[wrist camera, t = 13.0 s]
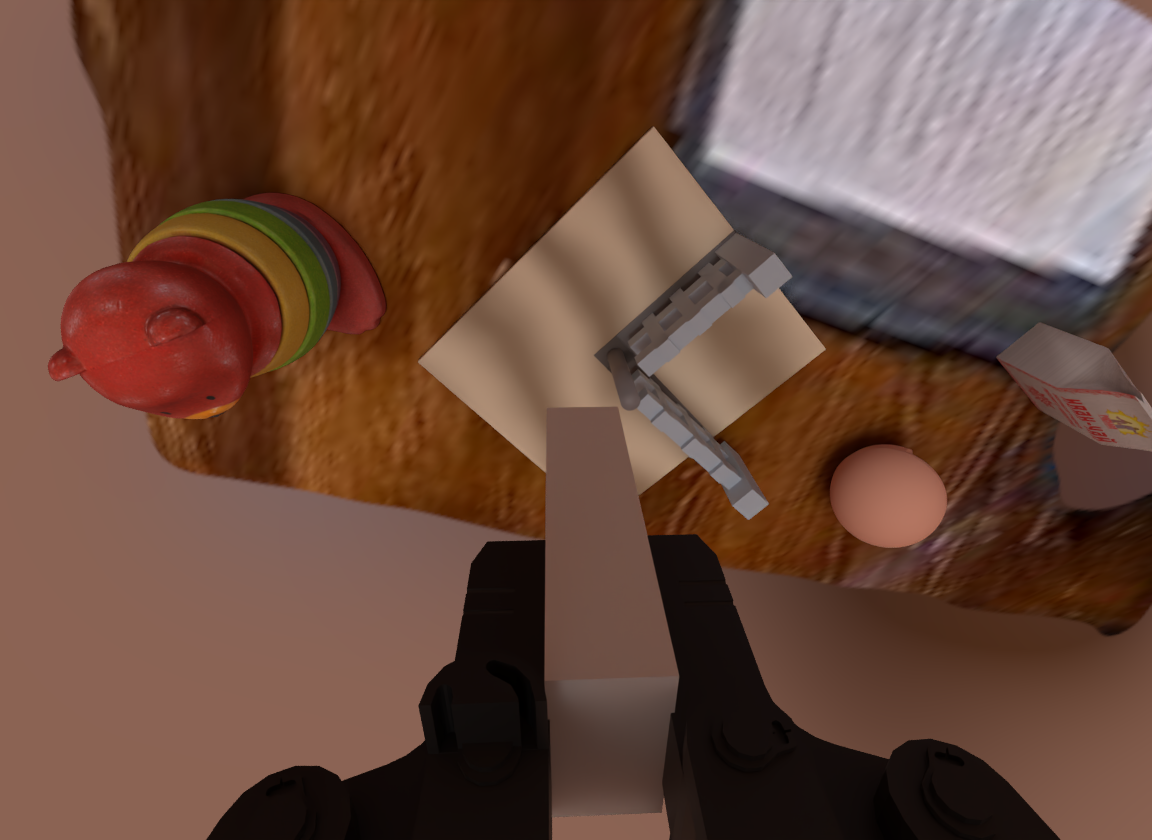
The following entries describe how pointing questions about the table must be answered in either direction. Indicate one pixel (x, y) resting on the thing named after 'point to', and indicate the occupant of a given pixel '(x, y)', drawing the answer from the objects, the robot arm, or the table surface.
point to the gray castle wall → (700, 446)
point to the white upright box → (1080, 386)
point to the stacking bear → (215, 305)
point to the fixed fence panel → (697, 309)
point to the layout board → (618, 318)
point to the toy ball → (887, 496)
